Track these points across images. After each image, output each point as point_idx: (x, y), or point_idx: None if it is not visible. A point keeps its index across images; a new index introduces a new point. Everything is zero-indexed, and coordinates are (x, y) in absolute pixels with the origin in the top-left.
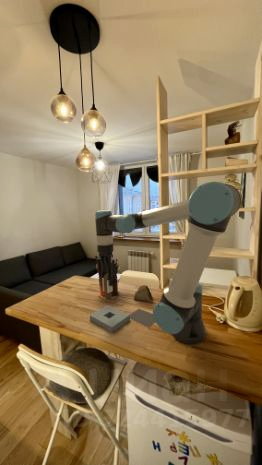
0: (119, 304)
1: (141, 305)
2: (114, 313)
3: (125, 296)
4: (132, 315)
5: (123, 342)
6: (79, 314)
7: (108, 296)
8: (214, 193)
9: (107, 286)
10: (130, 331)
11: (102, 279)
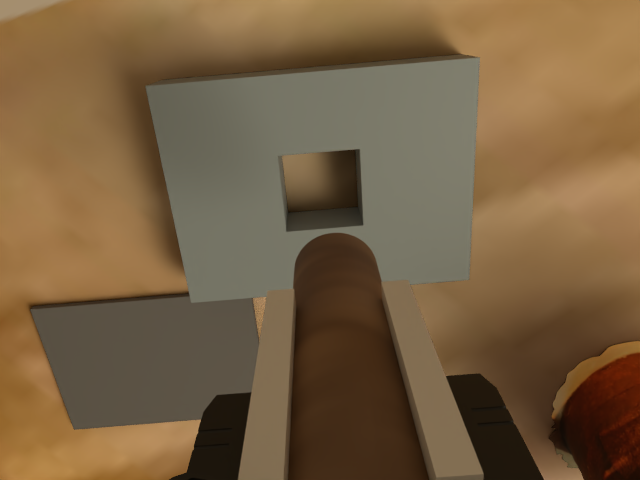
0: None
1: None
2: (306, 236)
3: None
4: (232, 329)
5: (9, 70)
6: (631, 39)
7: (298, 270)
8: None
9: (278, 360)
10: (88, 195)
11: (463, 443)
